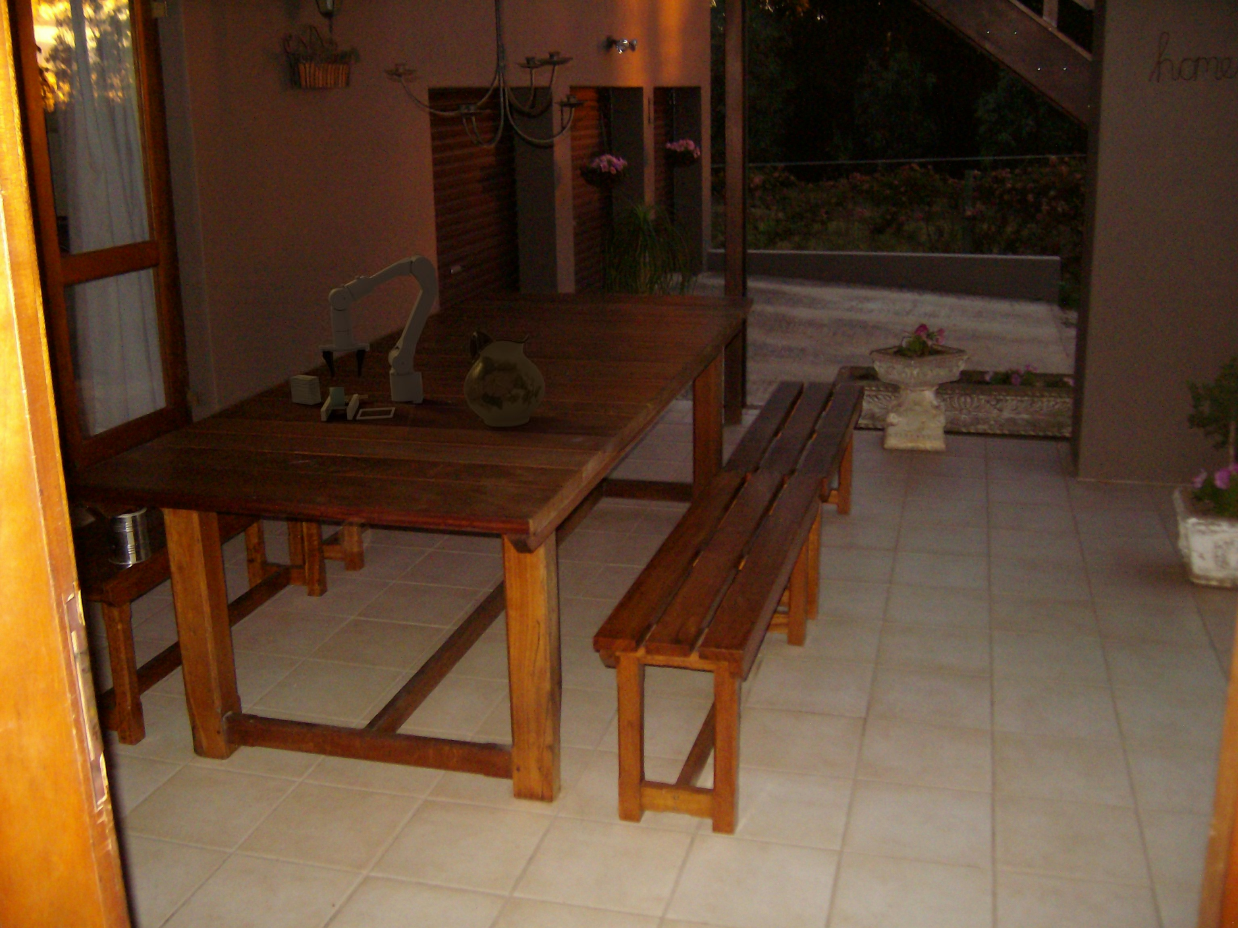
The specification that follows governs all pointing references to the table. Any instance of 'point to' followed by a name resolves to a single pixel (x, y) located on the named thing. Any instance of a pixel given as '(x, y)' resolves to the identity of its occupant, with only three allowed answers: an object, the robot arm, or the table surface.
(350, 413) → the beige h-shaped piece
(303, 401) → the medicine box
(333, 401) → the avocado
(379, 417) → the tray
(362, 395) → the lever
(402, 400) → the robot arm
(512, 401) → the pitcher
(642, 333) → the table surface
